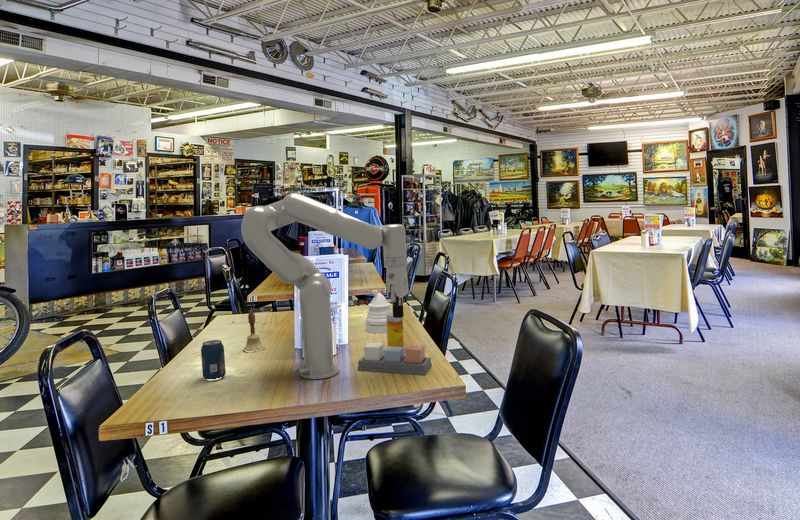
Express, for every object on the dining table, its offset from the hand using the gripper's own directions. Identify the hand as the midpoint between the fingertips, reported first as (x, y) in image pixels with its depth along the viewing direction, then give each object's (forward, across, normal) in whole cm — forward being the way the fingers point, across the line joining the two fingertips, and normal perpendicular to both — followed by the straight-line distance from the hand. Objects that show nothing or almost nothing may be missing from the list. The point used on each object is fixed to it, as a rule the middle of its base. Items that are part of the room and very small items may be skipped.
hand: (398, 317), depth 154 cm
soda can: (+16, -21, +57) cm, 63 cm away
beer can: (+18, +19, +8) cm, 27 cm away
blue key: (+15, 0, +2) cm, 15 cm away
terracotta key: (+14, 0, -5) cm, 15 cm away
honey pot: (+18, +49, +24) cm, 57 cm away
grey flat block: (+17, 0, +2) cm, 18 cm away
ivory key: (+14, 0, +9) cm, 17 cm away
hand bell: (+17, +11, +64) cm, 67 cm away
